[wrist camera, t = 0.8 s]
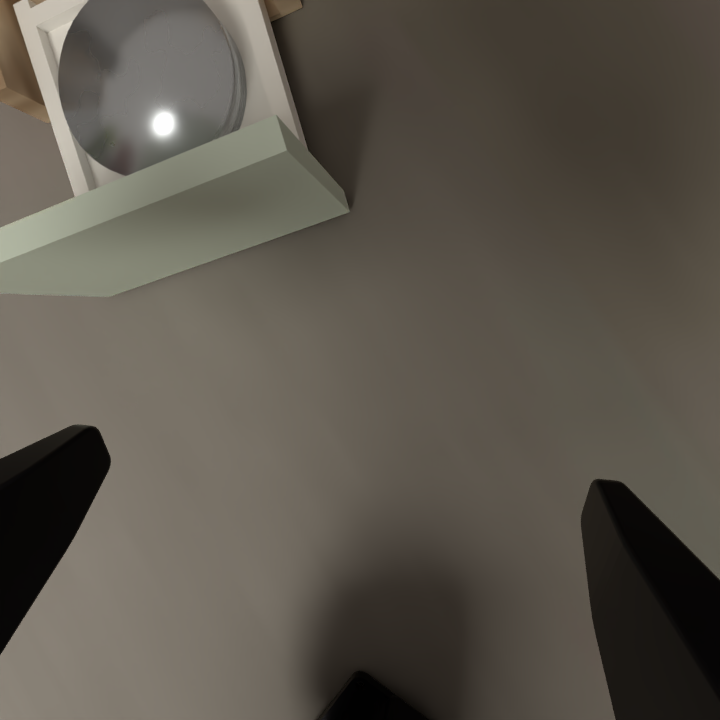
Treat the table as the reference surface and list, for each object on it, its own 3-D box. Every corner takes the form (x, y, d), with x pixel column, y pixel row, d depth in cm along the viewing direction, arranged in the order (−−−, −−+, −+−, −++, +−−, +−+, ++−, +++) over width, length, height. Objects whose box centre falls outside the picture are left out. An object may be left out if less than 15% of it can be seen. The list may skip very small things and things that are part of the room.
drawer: (350, 211, 22) (287, 150, 13) (109, 297, 24) (-74, 291, 16) (261, -89, 21) (134, -360, 12) (23, 32, 24) (-216, -124, 15)
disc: (192, 219, 22) (173, 213, 21) (58, 130, 23) (30, 117, 21) (279, 56, 21) (266, 35, 19) (133, -35, 21) (108, -62, 20)
